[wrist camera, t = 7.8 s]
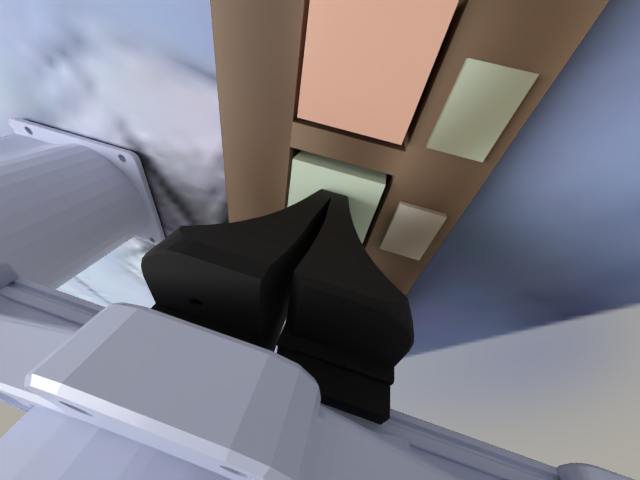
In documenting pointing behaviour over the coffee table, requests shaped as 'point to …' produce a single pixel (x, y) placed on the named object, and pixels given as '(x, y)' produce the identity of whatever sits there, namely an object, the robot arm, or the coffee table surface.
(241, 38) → the keypad
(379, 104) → the terracotta key
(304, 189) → the sage key
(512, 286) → the coffee table surface
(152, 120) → the coffee table surface
